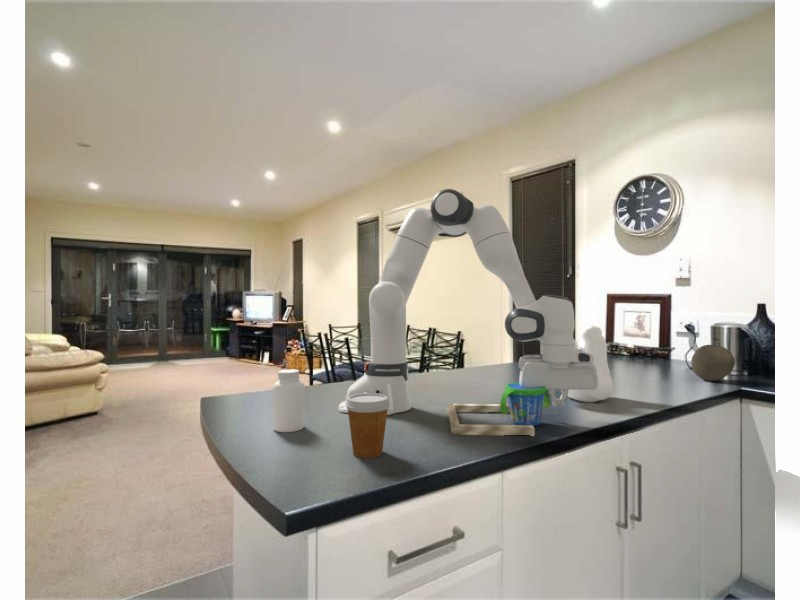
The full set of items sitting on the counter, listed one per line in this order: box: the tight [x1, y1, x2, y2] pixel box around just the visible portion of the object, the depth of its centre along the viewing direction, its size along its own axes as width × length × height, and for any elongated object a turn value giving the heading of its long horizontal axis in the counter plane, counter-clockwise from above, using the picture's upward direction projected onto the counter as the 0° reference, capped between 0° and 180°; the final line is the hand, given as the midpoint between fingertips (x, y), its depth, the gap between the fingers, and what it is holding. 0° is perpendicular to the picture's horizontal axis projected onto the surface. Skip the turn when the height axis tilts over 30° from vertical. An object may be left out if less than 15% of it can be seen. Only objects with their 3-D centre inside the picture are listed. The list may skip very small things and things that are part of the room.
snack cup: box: [500, 381, 551, 427], centre depth 114 cm, size 16×10×10 cm
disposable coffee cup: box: [346, 394, 390, 459], centre depth 92 cm, size 10×10×12 cm
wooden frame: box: [446, 403, 535, 437], centre depth 116 cm, size 20×24×2 cm
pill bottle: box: [272, 368, 306, 433], centre depth 110 cm, size 8×8×15 cm
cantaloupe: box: [690, 344, 736, 382], centre depth 176 cm, size 14×14×15 cm
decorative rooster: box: [567, 325, 614, 403], centre depth 142 cm, size 25×16×25 cm, turn 109°
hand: (558, 405), depth 115 cm, fingers closed
